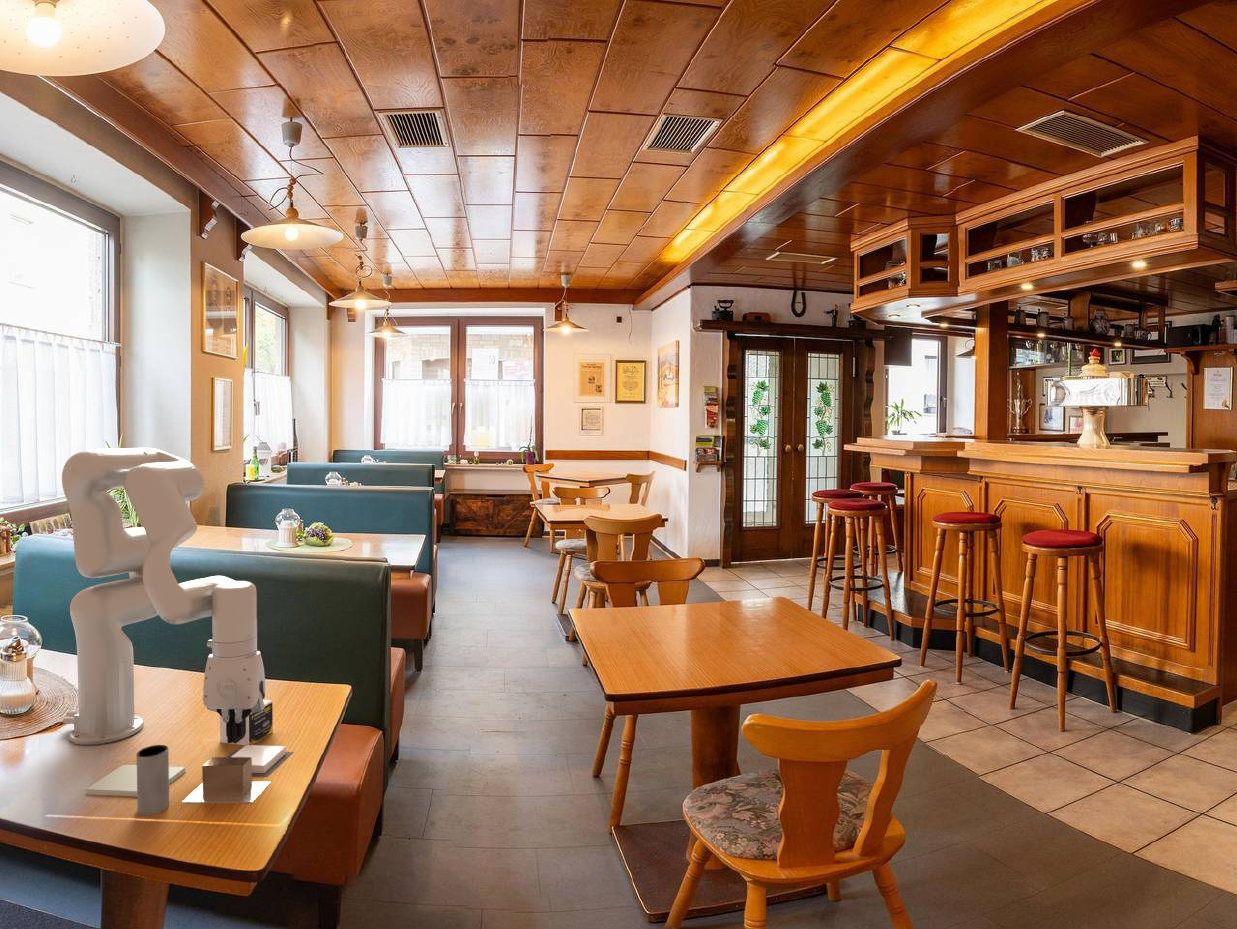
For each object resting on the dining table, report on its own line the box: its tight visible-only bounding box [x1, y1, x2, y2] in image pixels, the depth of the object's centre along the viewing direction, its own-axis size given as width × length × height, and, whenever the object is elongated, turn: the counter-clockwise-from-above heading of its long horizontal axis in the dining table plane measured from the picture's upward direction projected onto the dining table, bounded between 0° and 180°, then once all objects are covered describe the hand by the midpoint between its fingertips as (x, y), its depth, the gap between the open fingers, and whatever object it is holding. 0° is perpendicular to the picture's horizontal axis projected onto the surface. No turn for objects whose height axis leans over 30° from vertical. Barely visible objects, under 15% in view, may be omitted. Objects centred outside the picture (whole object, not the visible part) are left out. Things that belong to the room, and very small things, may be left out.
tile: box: [232, 744, 287, 773], centre depth 138 cm, size 2×8×8 cm
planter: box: [136, 744, 170, 816], centre depth 122 cm, size 4×4×10 cm
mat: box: [226, 749, 295, 778], centre depth 138 cm, size 12×10×1 cm
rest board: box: [85, 764, 186, 797], centre depth 130 cm, size 12×9×1 cm
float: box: [181, 756, 272, 804], centre depth 127 cm, size 12×7×6 cm, turn 92°
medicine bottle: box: [219, 699, 274, 746], centre depth 149 cm, size 7×7×12 cm
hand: (236, 740), depth 138 cm, fingers closed
